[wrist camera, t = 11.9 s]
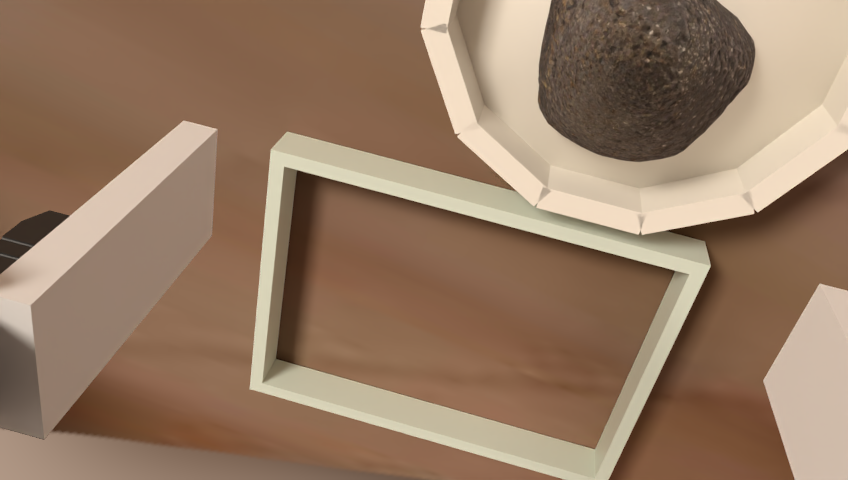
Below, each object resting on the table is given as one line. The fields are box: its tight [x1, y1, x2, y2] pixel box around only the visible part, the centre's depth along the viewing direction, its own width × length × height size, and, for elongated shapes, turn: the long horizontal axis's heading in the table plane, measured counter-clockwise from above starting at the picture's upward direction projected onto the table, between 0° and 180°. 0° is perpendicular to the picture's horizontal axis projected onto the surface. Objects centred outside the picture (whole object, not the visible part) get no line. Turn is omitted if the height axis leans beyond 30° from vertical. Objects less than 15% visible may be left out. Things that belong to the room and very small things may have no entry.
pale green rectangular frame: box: [250, 132, 711, 480], centre depth 45 cm, size 24×18×2 cm
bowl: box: [421, 0, 848, 235], centre depth 34 cm, size 20×20×4 cm
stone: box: [538, 0, 755, 162], centre depth 34 cm, size 10×8×10 cm
